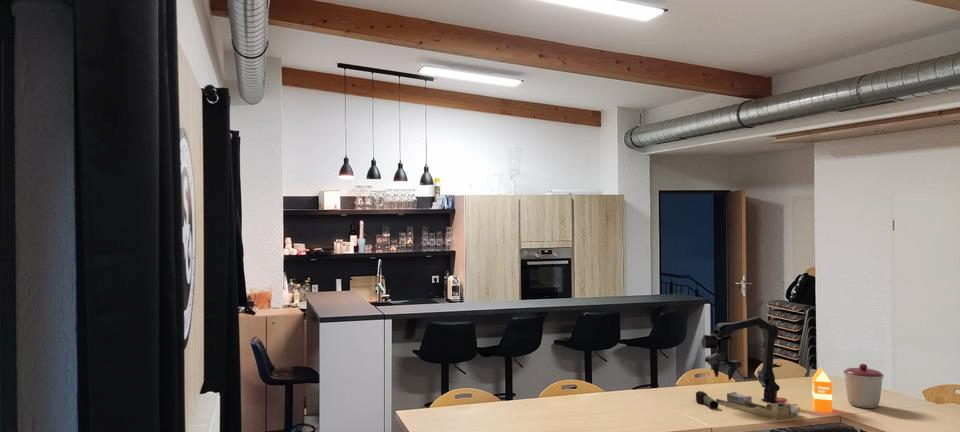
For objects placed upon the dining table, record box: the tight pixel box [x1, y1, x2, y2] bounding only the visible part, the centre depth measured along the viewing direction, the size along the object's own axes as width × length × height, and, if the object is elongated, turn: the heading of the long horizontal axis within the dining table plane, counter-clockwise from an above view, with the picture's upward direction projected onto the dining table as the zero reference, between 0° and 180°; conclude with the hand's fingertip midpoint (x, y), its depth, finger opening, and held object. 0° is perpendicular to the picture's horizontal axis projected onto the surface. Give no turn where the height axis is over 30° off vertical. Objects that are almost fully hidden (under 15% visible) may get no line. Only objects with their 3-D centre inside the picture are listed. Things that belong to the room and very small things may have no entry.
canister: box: [842, 363, 885, 409], centre depth 342 cm, size 18×18×21 cm
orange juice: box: [811, 366, 833, 413], centre depth 335 cm, size 8×9×20 cm
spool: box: [726, 391, 753, 407], centre depth 341 cm, size 6×10×6 cm, turn 31°
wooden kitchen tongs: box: [715, 397, 801, 421], centre depth 335 cm, size 16×36×9 cm, turn 31°
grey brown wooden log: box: [695, 390, 720, 410], centre depth 345 cm, size 18×7×6 cm, turn 4°
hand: (723, 378), depth 349 cm, fingers open, 8 cm apart
